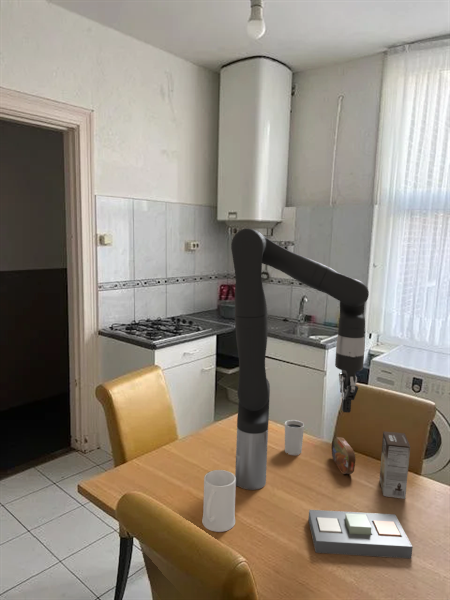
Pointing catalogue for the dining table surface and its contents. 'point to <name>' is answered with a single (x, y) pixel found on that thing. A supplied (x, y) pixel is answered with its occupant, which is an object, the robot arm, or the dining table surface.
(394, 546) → the button panel
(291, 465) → the dining table surface
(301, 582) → the dining table surface
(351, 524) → the sage button
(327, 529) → the offwhite button
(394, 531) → the terracotta button
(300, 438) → the white cup
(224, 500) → the mug
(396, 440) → the coffee box
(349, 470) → the tin
